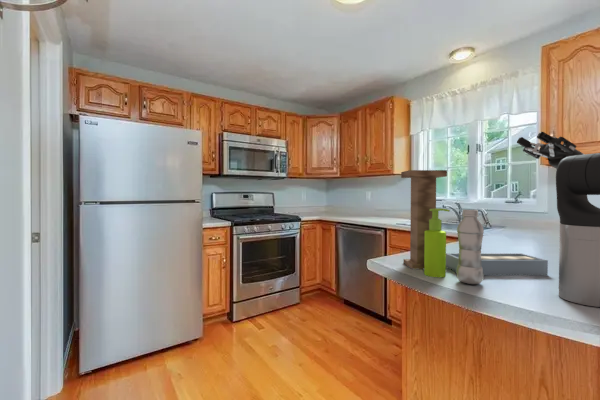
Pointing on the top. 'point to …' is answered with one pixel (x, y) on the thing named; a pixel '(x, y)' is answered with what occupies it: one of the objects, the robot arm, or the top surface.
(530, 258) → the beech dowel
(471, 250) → the plastic bottle
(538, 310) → the top surface
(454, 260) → the slate tray
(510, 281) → the top surface
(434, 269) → the soap dispenser
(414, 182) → the walnut stand
